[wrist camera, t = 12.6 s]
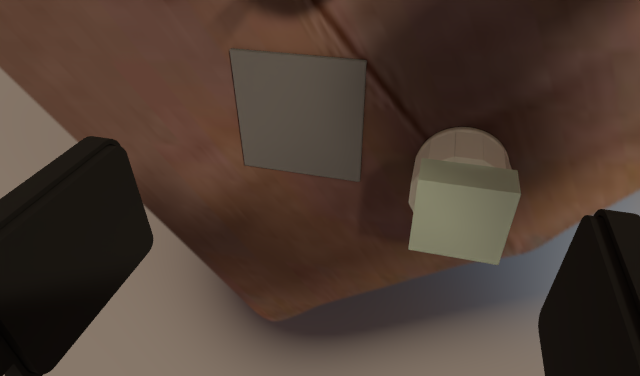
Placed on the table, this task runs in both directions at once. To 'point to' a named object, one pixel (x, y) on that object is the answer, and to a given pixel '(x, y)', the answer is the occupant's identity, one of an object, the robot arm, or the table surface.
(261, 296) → the table surface
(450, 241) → the block
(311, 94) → the mat
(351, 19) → the table surface
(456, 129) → the bowl
